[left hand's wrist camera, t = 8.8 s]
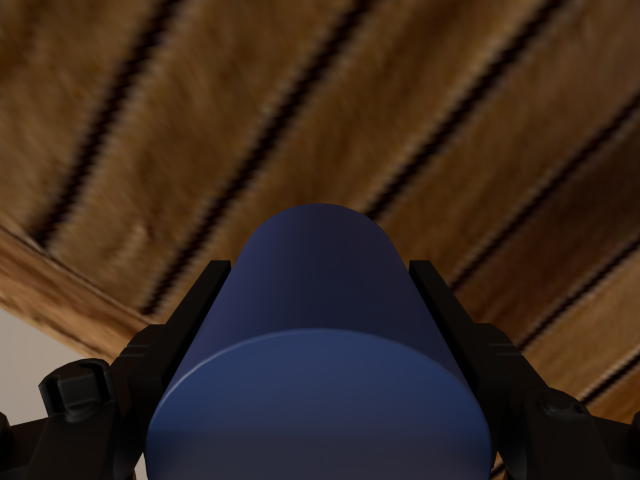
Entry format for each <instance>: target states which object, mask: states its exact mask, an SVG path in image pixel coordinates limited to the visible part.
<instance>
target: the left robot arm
mask: <svg viewBox="0 0 640 480" xmlns="http://www.w3.org/2000/svg"><path fill="white" fill-rule="evenodd" d="M230 272H231V262H230V260H211V261H210V262H209V264H208V265H207V267H206V268H205V269H204V271H203V272H202V274H201V275H200V276H199V278H198V279H197V281H196V282H195V283H194V285H193V286H192V288H191V289H190V290H189V292H188V293H187V295H186V296H185V297H184V299H183V300H182V302H181V303H180V304H179V306H178V307H177V309H176V310H175V311H174V313H173V314H172V316H171V317H170V318H169V320H168V321H167V323H166V324H150V325H149V326H147V327H146V328H144V329H143V330H141V331H140V332H138V333H137V334H136V335H135V336H134V337H133V338H132V340H131V341H130V342H129V343H128V345H127V347H125V348H124V350H123V351H122V352H121V353H120V354H119V357H117V358H116V359H115V361H114V362H113V363H112V364H111V366H109V364H108V363H107V362H106V361H105V360H103V359H97V358H89V359H81V360H77V361H74V362H70V363H68V364H66V365H64V366H62V367H59V368H57V369H55V370H54V371H53V372H51V373H50V374H49V375H47V376H46V377H45V378H44V379H43V380H42V382H41V383H40V384H39V385H38V387H39V390H40V393H41V396H42V399H43V402H44V405H45V408H46V411H47V414H48V417H47V418H43V419H39V420H35V421H31V422H26V423H22V424H18V425H13V426H10V425H9V422H8V420H7V417H6V415H4V414H3V413H1V412H0V480H136V474H135V470H134V468H135V466H136V464H137V462H138V460H139V458H140V457H141V455H142V453H143V454H144V458H145V446H146V437H147V433H148V429H149V424H150V421H151V419H152V417H153V415H154V412H155V410H156V408H157V406H158V404H159V402H160V400H161V398H162V396H163V395H164V393H165V391H166V389H167V387H168V385H169V384H170V382H171V380H172V378H173V376H174V374H175V373H176V371H177V369H178V367H179V365H180V363H181V362H182V360H183V358H184V356H185V354H186V352H187V351H188V349H189V347H190V345H191V343H192V341H193V340H194V338H195V336H196V334H197V332H198V330H199V329H200V327H201V325H202V323H203V321H204V319H205V318H206V316H207V314H208V312H209V310H210V308H211V307H212V305H213V303H214V301H215V299H216V297H217V296H218V294H219V292H220V290H221V288H222V286H223V285H224V283H225V281H226V279H227V277H228V275H229V274H230ZM409 275H410V277H411V278H412V280H413V282H414V284H415V286H416V288H417V290H418V291H419V293H420V295H421V297H422V299H423V301H424V303H425V304H426V306H427V308H428V310H429V312H430V314H431V316H432V318H433V319H434V321H435V323H436V325H437V327H438V329H439V331H440V332H441V334H442V336H443V338H444V340H445V342H446V344H447V346H448V347H449V349H450V351H451V353H452V355H453V357H454V359H455V360H456V362H457V364H458V366H459V368H460V370H461V372H462V374H463V375H464V377H465V379H466V381H467V383H468V385H469V387H470V388H471V390H472V392H473V394H474V396H475V398H476V400H477V401H478V403H479V405H480V407H481V409H482V412H483V414H484V416H485V419H486V421H487V423H488V427H489V431H490V436H491V440H492V468H491V469H493V468H494V464H495V459H496V455H497V451H498V452H499V454H500V456H501V458H502V460H503V462H504V464H505V466H506V470H505V474H504V478H503V480H640V411H639V412H637V413H636V414H635V415H634V418H633V420H632V423H631V425H629V424H625V423H621V422H616V421H612V420H608V419H603V418H599V417H596V416H592V415H591V414H590V413H589V411H588V410H587V408H586V407H585V406H584V405H583V404H582V403H580V402H579V401H578V400H577V399H576V398H574V397H572V396H570V395H568V394H566V393H565V392H562V391H559V390H556V389H553V388H550V387H548V386H547V384H546V383H545V382H544V381H543V379H542V378H541V377H540V376H539V375H538V373H537V372H536V371H535V370H534V368H533V367H532V366H531V365H530V364H529V362H528V361H527V360H526V359H525V357H524V356H521V353H520V351H519V350H518V349H517V348H516V346H514V344H513V343H512V342H511V340H510V339H509V338H508V337H507V335H506V334H505V333H504V332H502V331H501V330H499V329H498V328H496V327H495V326H493V325H492V324H490V323H474V322H473V321H472V319H471V318H470V317H469V315H468V314H467V312H466V311H465V310H464V308H463V307H462V305H461V304H460V303H459V301H458V300H457V298H456V297H455V296H454V294H453V293H452V291H451V290H450V289H449V287H448V286H447V284H446V283H445V282H444V280H443V279H442V277H441V276H440V275H439V273H438V272H437V270H436V269H435V268H434V266H433V265H432V263H431V262H430V261H429V260H410V265H409Z"/></svg>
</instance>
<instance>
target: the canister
mask: <svg viewBox="0 0 640 480" xmlns="http://www.w3.org/2000/svg"><path fill="white" fill-rule="evenodd" d="M145 465H146V473H147V478H148V480H489V479H490V475H491V468H492V440H491V436H490V431H489V427H488V423H487V421H486V419H485V416H484V414H483V412H482V409H481V407H480V405H479V403H478V401H477V400H476V398H475V396H474V394H473V392H472V390H471V388H470V387H469V385H468V383H467V381H466V379H465V377H464V375H463V374H462V372H461V370H460V368H459V366H458V364H457V362H456V360H455V359H454V357H453V355H452V353H451V351H450V349H449V347H448V346H447V344H446V342H445V340H444V338H443V336H442V334H441V332H440V331H439V329H438V327H437V325H436V323H435V321H434V319H433V318H432V316H431V314H430V312H429V310H428V308H427V306H426V304H425V303H424V301H423V299H422V297H421V295H420V293H419V291H418V290H417V288H416V286H415V284H414V282H413V280H412V278H411V277H410V275H409V273H408V271H407V269H406V267H405V265H404V263H403V262H402V260H401V258H400V256H399V254H398V252H397V250H396V249H395V247H394V245H393V243H392V242H391V240H390V239H389V237H388V236H387V235H386V233H385V232H384V231H383V230H382V229H381V228H380V227H379V226H378V225H377V224H376V223H374V222H373V221H372V220H370V219H369V218H367V217H366V216H364V215H363V214H361V213H358V212H356V211H354V210H352V209H349V208H346V207H343V206H338V205H333V204H321V203H319V204H306V205H301V206H296V207H293V208H290V209H287V210H284V211H282V212H280V213H278V214H276V215H274V216H273V217H271V218H270V219H268V220H267V221H265V222H264V223H263V224H262V225H261V226H260V227H259V228H257V230H256V231H255V232H254V233H253V234H252V235H251V237H250V238H249V240H248V241H247V243H246V244H245V246H244V248H243V250H242V252H241V253H240V255H239V257H238V259H237V261H236V263H235V264H234V266H233V268H232V270H231V272H230V274H229V275H228V277H227V279H226V281H225V283H224V285H223V286H222V288H221V290H220V292H219V294H218V296H217V297H216V299H215V301H214V303H213V305H212V307H211V308H210V310H209V312H208V314H207V316H206V318H205V319H204V321H203V323H202V325H201V327H200V329H199V330H198V332H197V334H196V336H195V338H194V340H193V341H192V343H191V345H190V347H189V349H188V351H187V352H186V354H185V356H184V358H183V360H182V362H181V363H180V365H179V367H178V369H177V371H176V373H175V374H174V376H173V378H172V380H171V382H170V384H169V385H168V387H167V389H166V391H165V393H164V395H163V396H162V398H161V400H160V402H159V404H158V406H157V408H156V410H155V412H154V415H153V417H152V419H151V421H150V424H149V429H148V433H147V437H146V446H145Z"/></svg>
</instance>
